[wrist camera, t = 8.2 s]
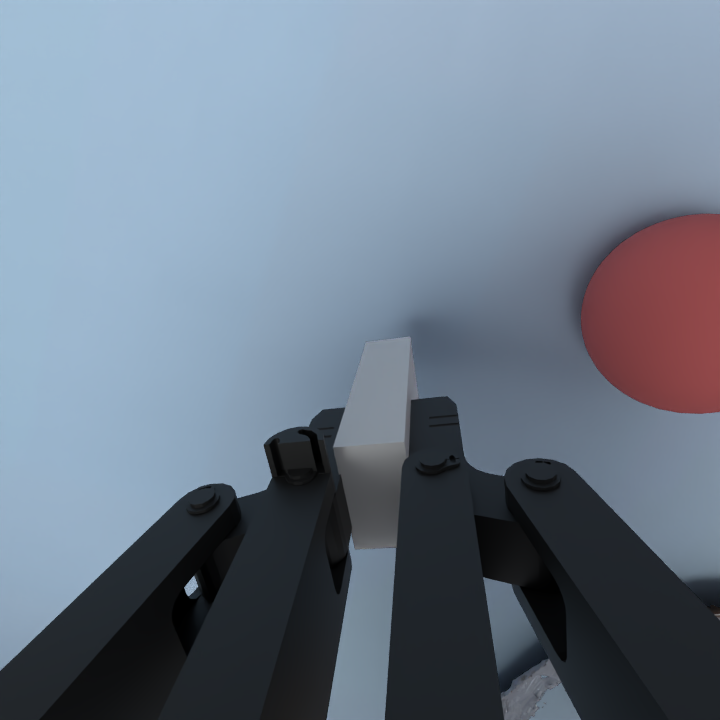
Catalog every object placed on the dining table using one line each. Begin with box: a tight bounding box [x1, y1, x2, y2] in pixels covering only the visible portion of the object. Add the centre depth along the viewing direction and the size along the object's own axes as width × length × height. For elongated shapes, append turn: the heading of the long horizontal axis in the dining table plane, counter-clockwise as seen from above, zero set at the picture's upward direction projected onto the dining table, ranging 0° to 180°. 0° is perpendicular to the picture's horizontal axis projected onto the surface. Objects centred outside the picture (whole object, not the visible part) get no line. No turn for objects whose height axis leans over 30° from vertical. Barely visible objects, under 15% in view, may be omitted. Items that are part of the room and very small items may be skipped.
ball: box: [581, 214, 720, 414], centre depth 15 cm, size 6×6×6 cm
